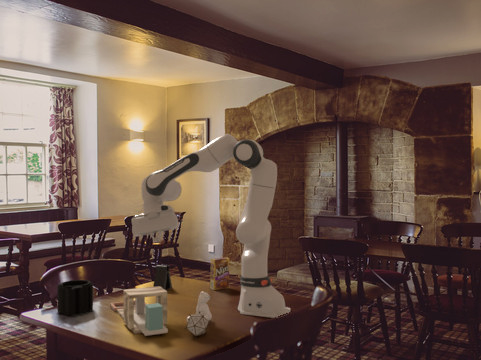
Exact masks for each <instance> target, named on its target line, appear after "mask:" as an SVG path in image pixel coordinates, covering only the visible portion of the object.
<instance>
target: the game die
mask: <svg viewBox="0 0 481 360" xmlns="http://www.w3.org/2000/svg"><path fill="white" fill-rule="evenodd" d="M188 315H189V316H190V319H188V320H189V322H188V321H187V325H186V327H184V330H186V329H187V330H188V331H189V332H190V333H191V335H193V336H195V337H194V339H197V337H198V336H201V335H203V334H204V336H206V335H207V333H206V332H207V331H208V325H209V323H210V322H211V321H212V319H211V320H209V321H208V320H207V319H206V318H205V317H204V315H203V316H202V315H201V314H200V311H199V314H196V313H194V314H188ZM191 315H192V316H191ZM208 322H209V323H208Z"/></svg>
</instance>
